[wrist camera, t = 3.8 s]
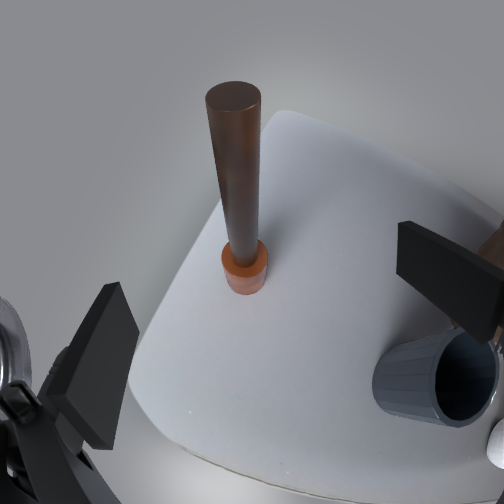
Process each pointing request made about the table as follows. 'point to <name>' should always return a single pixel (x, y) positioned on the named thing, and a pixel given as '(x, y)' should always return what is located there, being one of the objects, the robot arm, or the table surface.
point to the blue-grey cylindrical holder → (438, 379)
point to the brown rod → (239, 180)
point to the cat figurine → (496, 445)
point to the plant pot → (493, 260)
